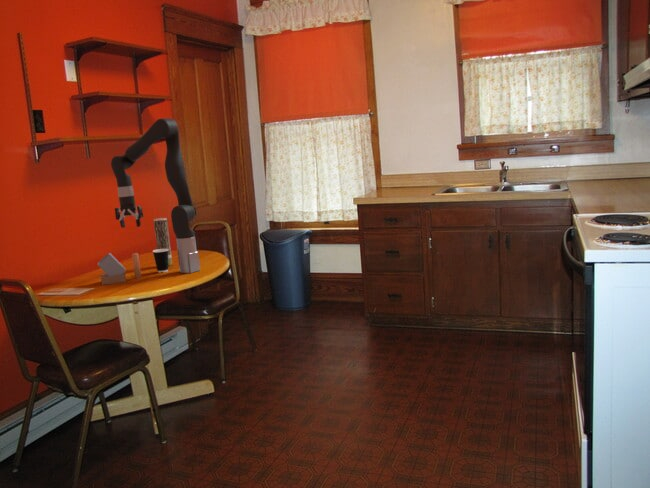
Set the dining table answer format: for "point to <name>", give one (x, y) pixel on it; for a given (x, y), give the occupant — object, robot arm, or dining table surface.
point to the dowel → (136, 265)
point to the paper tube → (162, 236)
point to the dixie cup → (161, 259)
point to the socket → (111, 270)
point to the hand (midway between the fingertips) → (131, 227)
